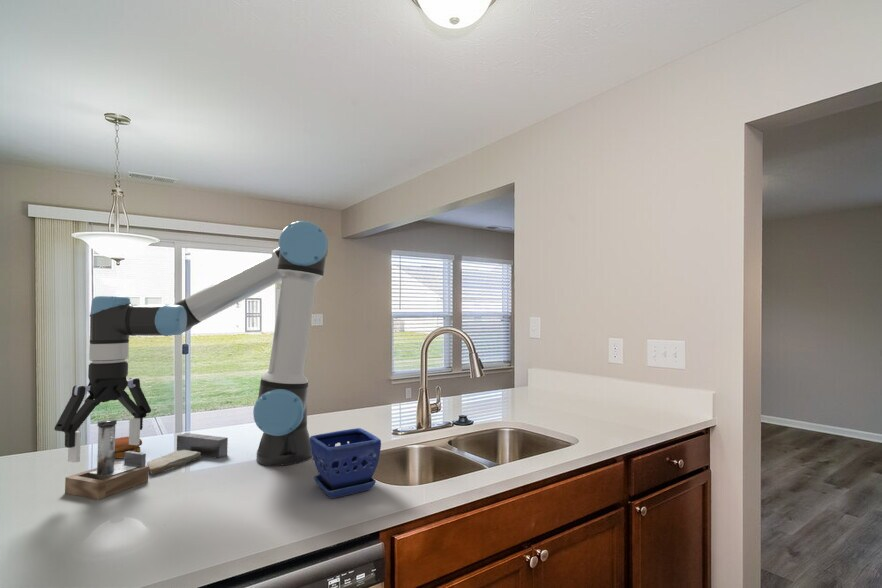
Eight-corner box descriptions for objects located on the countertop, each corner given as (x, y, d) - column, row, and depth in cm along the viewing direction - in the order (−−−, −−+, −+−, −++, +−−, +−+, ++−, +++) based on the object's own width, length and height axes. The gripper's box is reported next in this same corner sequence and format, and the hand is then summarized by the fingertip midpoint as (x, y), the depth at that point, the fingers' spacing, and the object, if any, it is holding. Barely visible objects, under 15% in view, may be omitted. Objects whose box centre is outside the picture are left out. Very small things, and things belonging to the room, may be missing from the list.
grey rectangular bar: (227, 455, 128) (227, 437, 128) (218, 458, 125) (219, 440, 125) (185, 449, 133) (186, 432, 134) (176, 452, 131) (177, 435, 131)
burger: (135, 458, 126) (135, 441, 126) (95, 461, 123) (96, 444, 123) (145, 448, 135) (146, 432, 136) (109, 451, 132) (110, 435, 133)
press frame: (148, 481, 108) (148, 466, 108) (98, 499, 97) (98, 483, 97) (116, 475, 112) (117, 461, 112) (64, 493, 101) (65, 477, 101)
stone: (153, 478, 111) (153, 468, 111) (127, 472, 116) (127, 462, 116) (206, 460, 125) (206, 451, 125) (181, 455, 129) (181, 446, 129)
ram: (146, 474, 110) (148, 415, 111) (107, 487, 101) (109, 424, 102) (126, 470, 112) (128, 413, 113) (86, 484, 103) (88, 421, 104)
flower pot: (325, 505, 94) (326, 448, 95) (308, 485, 106) (308, 434, 106) (382, 492, 101) (382, 439, 102) (360, 474, 113) (361, 426, 113)
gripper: (147, 356, 118) (145, 437, 117) (36, 366, 95) (32, 467, 94) (168, 357, 116) (166, 439, 115) (59, 367, 92) (55, 471, 91)
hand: (105, 452), depth 104 cm, fingers open, 13 cm apart
